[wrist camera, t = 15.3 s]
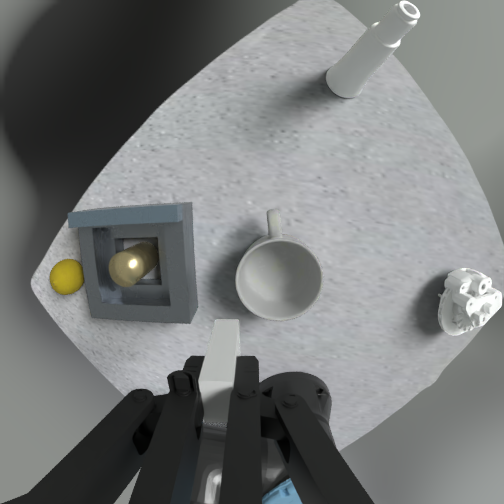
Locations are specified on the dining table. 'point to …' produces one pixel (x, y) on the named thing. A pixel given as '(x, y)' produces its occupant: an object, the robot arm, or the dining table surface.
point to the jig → (145, 290)
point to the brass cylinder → (133, 263)
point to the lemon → (67, 276)
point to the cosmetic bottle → (371, 50)
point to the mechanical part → (467, 301)
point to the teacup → (278, 275)
